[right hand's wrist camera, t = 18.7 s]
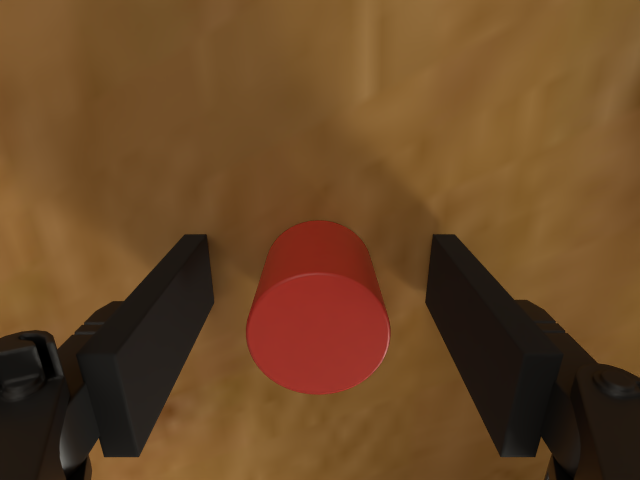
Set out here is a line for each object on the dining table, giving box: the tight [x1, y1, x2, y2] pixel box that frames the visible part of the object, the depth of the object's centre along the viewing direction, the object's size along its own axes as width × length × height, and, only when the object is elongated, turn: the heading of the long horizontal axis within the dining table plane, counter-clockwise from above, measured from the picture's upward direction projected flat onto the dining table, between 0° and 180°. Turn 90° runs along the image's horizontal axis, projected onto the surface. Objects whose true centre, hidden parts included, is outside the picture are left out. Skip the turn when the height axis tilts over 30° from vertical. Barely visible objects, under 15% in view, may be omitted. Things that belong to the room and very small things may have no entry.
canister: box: [246, 221, 390, 394], centre depth 12 cm, size 4×4×4 cm
